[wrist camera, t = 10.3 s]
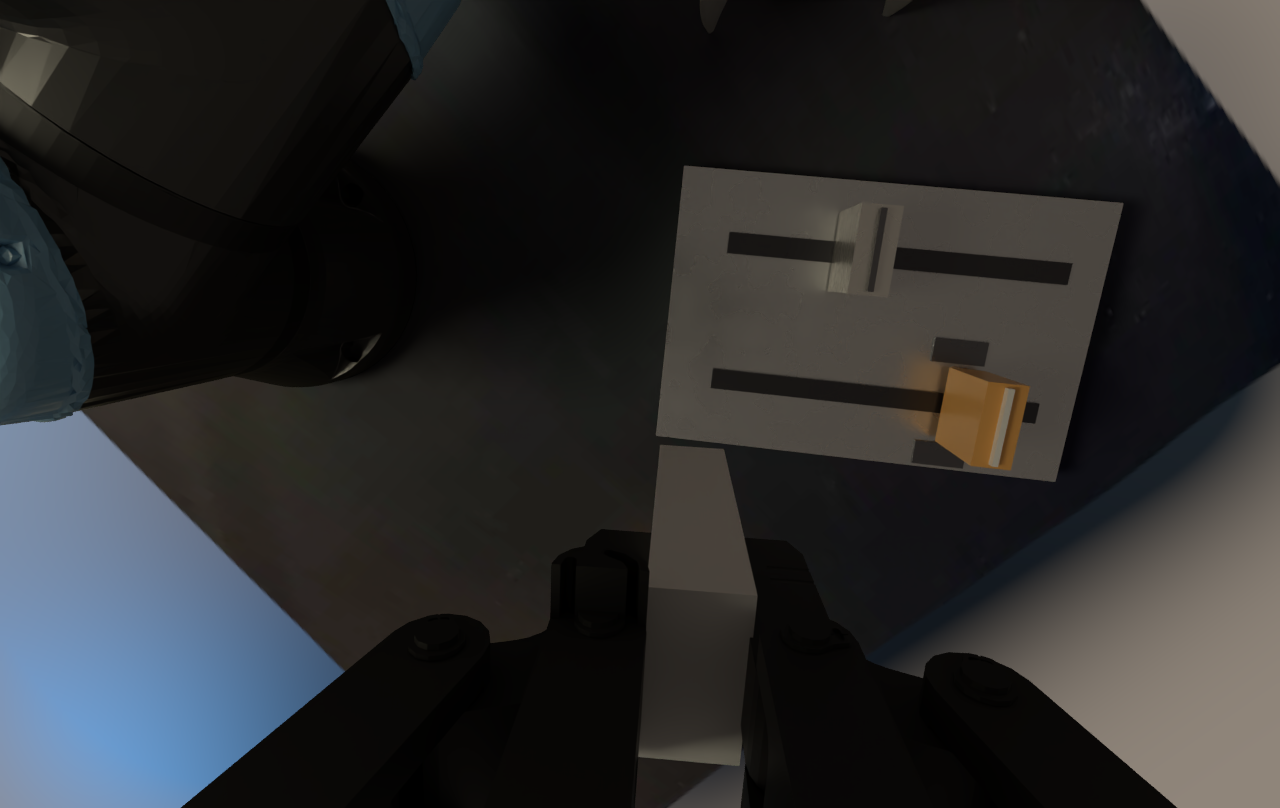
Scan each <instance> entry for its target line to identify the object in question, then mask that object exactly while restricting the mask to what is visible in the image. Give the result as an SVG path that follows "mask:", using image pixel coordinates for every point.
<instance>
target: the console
mask: <svg viewBox="0 0 1280 808" xmlns="http://www.w3.org/2000/svg"><path fill="white" fill-rule="evenodd" d="M1123 204H1124V203H1117V202H1105V201H1093V200H1082V199H1070V198H1058V197H1046V196H1035V195H1023V194H1011V193H1000V192H988V191H976V190H964V189H953V188H941V187H929V186H918V185H906V184H894V183H882V182H871V181H859V180H847V179H835V178H824V177H812V176H800V175H789V174H777V173H765V172H753V171H742V170H730V169H718V168H707V167H695V166H684V171H683V181H682V190H681V200H680V210H679V219H678V229H677V239H676V248H675V258H674V268H673V277H672V287H671V296H670V306H669V316H668V325H667V335H666V345H665V354H664V364H663V373H662V383H661V393H660V402H659V412H658V422H657V431H656V436H663V437H672V438H680V439H689V440H698V441H706V442H715V443H724V444H732V445H741V446H750V447H758V448H767V449H776V450H784V451H793V452H802V453H810V454H819V455H828V456H836V457H845V458H853V459H862V460H871V461H879V462H888V463H897V464H905V465H914V466H923V467H931V468H940V469H949V470H957V471H966V472H975V473H983V474H992V475H1000V476H1009V477H1018V478H1026V479H1035V480H1044V481H1052V482H1055V481H1056V477H1057V473H1058V469H1059V465H1060V461H1061V456H1062V452H1063V448H1064V444H1065V440H1066V436H1067V432H1068V428H1069V424H1070V420H1071V416H1072V412H1073V408H1074V403H1075V399H1076V395H1077V391H1078V387H1079V383H1080V379H1081V375H1082V371H1083V367H1084V363H1085V359H1086V355H1087V351H1088V346H1089V342H1090V338H1091V334H1092V330H1093V326H1094V322H1095V318H1096V314H1097V310H1098V306H1099V302H1100V298H1101V294H1102V289H1103V285H1104V281H1105V277H1106V273H1107V269H1108V265H1109V261H1110V257H1111V253H1112V249H1113V245H1114V241H1115V236H1116V232H1117V228H1118V224H1119V220H1120V216H1121V212H1122V208H1123ZM949 367H951V368H961V369H970V370H980V371H987V372H990V373H993V374H995V375H998V376H1001V377H1004V378H1007V379H1010V380H1013V381H1016V382H1019V383H1022V384H1025V385H1028V386H1030V389H1029V393H1028V397H1027V402H1026V406H1025V410H1024V415H1023V419H1022V424H1021V428H1020V432H1019V437H1018V441H1017V445H1016V450H1015V454H1014V458H1013V463H1012V467H1011V471H1010V470H1002V469H993V468H984V467H975V466H970V465H968V464H967V463H966V462H964V461H963V460H961V459H960V458H958V457H957V456H956V455H954V454H953V453H951V452H950V451H949V450H947V449H946V448H944V447H943V446H941V445H940V444H939V443H937V442H936V441H935V437H936V432H937V427H938V422H939V417H940V412H941V407H942V402H943V397H944V392H945V387H946V382H947V377H948V372H949Z"/></svg>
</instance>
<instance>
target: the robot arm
mask: <svg viewBox="0 0 1280 808" xmlns="http://www.w3.org/2000/svg"><path fill="white" fill-rule="evenodd" d="M460 3H461V0H0V425H6V424H14V423H21V422H29V421H37V422H50V421H56V420H60V419H63V418H66V416H72V415H73V412H76V411H80V410H84V409H89V408H93V407H98V406H102V405H107V404H111V403H116V402H120V401H125V400H129V399H134V398H138V397H143V396H147V395H152V394H156V393H161V392H165V391H170V390H174V389H178V388H183V387H187V386H192V385H196V384H201V383H205V382H210V381H214V380H219V379H223V378H227V377H231V376H235V377H240V378H245V379H250V380H254V381H259V382H264V383H269V384H273V385H278V386H285V387H312V386H319V385H324V384H328V383H332V382H336V381H339V380H342V379H346V378H349V377H352V376H354V375H357V374H359V373H361V372H363V371H365V370H367V369H368V368H370V367H371V366H373V365H374V364H376V363H377V362H378V361H379V360H381V359H382V358H383V357H384V356H385V355H386V354H387V353H388V352H389V351H390V350H391V348H392V347H393V346H394V345H395V343H396V342H397V340H398V339H399V337H400V336H401V334H402V332H403V330H404V328H405V326H406V324H407V322H408V319H409V317H410V314H411V310H412V307H413V303H414V298H415V290H416V264H415V256H414V251H413V246H412V242H411V239H410V236H409V233H408V230H407V228H406V225H405V223H404V221H403V218H402V216H401V215H400V213H399V211H398V209H397V207H396V206H395V204H394V203H393V201H392V200H391V198H390V197H389V196H388V194H387V193H386V192H385V191H384V189H383V188H382V187H381V186H380V185H379V184H378V183H377V182H376V181H375V180H374V179H373V178H372V177H371V176H370V175H369V174H368V173H366V172H365V171H364V170H363V169H361V168H360V167H358V166H357V165H355V164H354V163H352V162H351V161H349V159H350V157H351V156H352V155H353V153H354V152H355V151H356V150H357V148H358V147H359V146H360V144H361V143H362V142H363V140H364V139H365V138H366V136H367V135H368V134H369V133H370V131H371V130H372V129H373V127H374V126H375V125H376V123H377V122H378V121H379V119H380V118H381V117H382V116H383V114H384V113H385V112H386V110H387V109H388V108H389V106H390V105H391V104H392V102H393V101H394V100H395V99H396V97H397V96H398V95H399V93H400V92H401V91H402V89H403V88H404V87H405V85H406V84H407V83H408V82H409V80H410V79H413V80H416V79H417V77H418V76H419V75H420V74H421V72H422V69H423V59H424V57H425V56H426V54H427V53H428V51H429V50H430V48H431V47H432V45H433V44H434V42H435V41H436V39H437V38H438V37H439V35H440V34H441V32H442V31H443V29H444V28H445V26H446V25H447V23H448V22H449V20H450V19H451V17H452V16H453V14H454V13H455V11H456V10H457V8H458V7H459V5H460ZM808 570H809V569H808V567H807V564H806V562H805V559H804V557H803V555H802V554H801V553H800V552H799V551H798V550H797V549H795V548H794V547H793V546H792V545H790V544H789V543H788V542H787V541H780V540H767V539H753V538H744V535H743V530H742V526H741V522H740V517H739V513H738V509H737V504H736V500H735V496H734V491H733V487H732V483H731V478H730V474H729V470H728V465H727V461H726V457H725V452H724V449H713V448H698V447H684V446H669V445H660V453H659V463H658V473H657V483H656V493H655V503H654V513H653V524H652V533H645V532H632V531H619V530H605V529H601V530H600V531H598V532H597V533H596V534H594V535H593V536H592V537H590V538H589V539H588V540H587V541H586V544H585V546H584V547H579V548H574V549H571V550H569V551H566V552H564V553H562V554H560V555H559V556H558V557H557V558H556V559H555V560H554V561H553V563H552V566H551V613H550V621H549V624H548V627H547V630H545V631H543V632H542V633H539V634H537V635H534V636H531V637H528V638H524V639H519V640H513V641H506V642H497V643H490V636H489V630H488V629H487V628H486V627H485V626H484V625H483V624H482V623H481V622H480V621H478V620H475V619H473V618H470V617H468V616H463V615H454V614H440V615H438V614H436V615H430V616H427V617H424V618H420V619H417V620H414V621H411V622H409V623H407V624H405V625H404V626H402V627H400V628H399V629H397V630H395V631H394V632H392V633H391V634H390V635H389V636H388V637H386V638H385V639H384V640H383V641H382V642H380V643H379V644H378V645H377V646H376V647H374V648H373V649H372V650H371V651H370V652H368V653H367V654H366V655H365V656H363V657H362V658H361V659H360V660H359V661H357V662H356V663H355V664H354V665H353V666H351V667H350V668H349V669H348V670H347V671H345V672H344V673H343V674H342V675H341V676H339V677H338V678H337V679H336V680H334V681H333V682H332V683H331V684H330V685H328V686H327V687H326V688H325V689H324V690H322V691H321V692H320V693H319V694H318V695H316V696H315V697H314V698H313V699H312V700H310V701H309V702H308V703H307V704H305V705H304V706H303V707H302V708H301V709H299V710H298V711H297V712H296V713H295V714H294V715H292V716H291V717H290V718H289V719H287V720H286V721H285V722H284V723H283V724H282V725H280V726H279V727H278V728H277V729H275V730H274V731H273V732H272V733H270V734H269V735H268V736H267V737H266V738H264V739H263V740H262V741H261V742H260V743H258V744H257V745H256V746H255V747H254V748H252V749H251V750H250V751H249V752H248V753H246V754H245V755H244V756H243V757H241V758H240V759H239V760H238V761H237V762H235V763H234V764H233V765H232V766H231V767H229V768H228V769H227V770H226V771H225V772H223V773H222V774H221V775H220V776H219V777H217V778H216V779H215V780H214V781H213V782H211V783H210V784H209V785H208V786H207V787H205V788H204V789H203V790H202V791H200V792H199V793H198V794H197V795H196V796H194V797H193V798H192V799H191V800H190V801H188V802H187V803H186V804H185V805H184V806H182V807H181V808H635V798H636V785H637V769H638V757H647V758H658V759H669V760H680V761H691V762H702V763H713V764H723V765H734V766H735V765H736V766H739V765H740V756H741V747H742V740H743V748H744V755H745V763H746V764H745V773H744V782H743V792H742V801H741V808H1177V807H1176V806H1175V805H1173V804H1172V803H1171V802H1170V801H1169V800H1168V799H1166V798H1165V797H1164V796H1163V795H1162V794H1161V793H1160V792H1158V791H1157V790H1156V789H1155V788H1154V787H1153V786H1151V785H1150V784H1149V783H1148V782H1147V781H1146V780H1144V779H1143V778H1142V777H1141V776H1140V775H1139V774H1137V773H1136V772H1135V771H1134V770H1133V769H1132V768H1130V767H1129V766H1128V765H1127V764H1126V763H1125V762H1123V761H1122V760H1121V759H1120V758H1119V757H1118V756H1116V755H1115V754H1114V753H1113V752H1112V751H1110V750H1109V749H1108V748H1107V747H1106V746H1105V745H1104V744H1102V743H1101V742H1100V741H1099V740H1098V739H1097V738H1095V737H1094V736H1093V735H1092V734H1091V733H1090V732H1088V731H1087V730H1086V729H1085V728H1084V727H1083V726H1081V725H1080V724H1079V723H1078V722H1077V721H1076V720H1074V719H1073V718H1072V717H1071V716H1070V715H1069V714H1068V713H1066V712H1065V711H1064V710H1063V709H1062V708H1061V707H1059V706H1058V705H1057V704H1056V703H1055V702H1053V701H1052V700H1051V699H1050V698H1049V697H1048V696H1047V695H1045V694H1044V693H1043V692H1042V691H1041V690H1039V689H1038V688H1037V687H1036V686H1035V685H1034V684H1033V683H1031V682H1030V681H1029V680H1027V679H1026V678H1024V677H1023V676H1021V675H1020V674H1018V673H1017V672H1015V671H1014V670H1013V669H1011V668H1009V667H1006V666H1004V665H1002V664H1000V663H998V662H995V661H994V660H992V659H990V658H986V657H983V656H981V657H980V656H978V655H974V654H969V653H951V652H948V653H944V654H940V655H935V656H933V657H932V658H931V659H930V660H929V661H928V662H927V663H926V666H925V671H924V677H923V678H920V677H916V676H913V675H909V674H906V673H902V672H899V671H895V670H891V669H888V668H885V667H882V666H880V665H877V664H874V663H872V662H870V661H868V660H866V658H865V656H864V654H863V652H862V649H861V647H860V645H859V643H858V642H857V640H856V639H855V638H854V636H853V635H852V634H851V633H850V631H848V630H847V629H845V628H844V627H842V626H841V625H839V624H838V623H836V622H834V621H832V620H829V617H828V615H827V613H826V610H825V608H824V605H823V603H822V601H821V598H820V596H819V593H818V591H817V588H816V586H815V585H814V581H813V579H812V576H811V574H810V572H809V571H808Z"/></svg>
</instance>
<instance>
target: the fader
mask: <svg viewBox="0 0 1280 808" xmlns="http://www.w3.org/2000/svg"><path fill="white" fill-rule="evenodd" d="M1029 389H1030V386H1028V385H1025V384H1022V383H1019V382H1016V381H1013V380H1010V379H1007V378H1004V377H1001V376H998V375H995V374H993V373H990V372H987V371H980V370H970V369H961V368H951V367H949V372H948V377H947V382H946V387H945V392H944V397H943V402H942V407H941V412H940V417H939V422H938V427H937V432H936V437H935V441H936V442H937V443H939V444H940V445H941V446H943V447H944V448H946V449H947V450H949V451H950V452H951V453H953V454H954V455H956V456H957V457H958V458H960V459H961V460H963V461H964V462H966V463H967V464H968V465H970V466H975V467H984V468H993V469H1002V470H1010V471H1011V467H1012V463H1013V458H1014V454H1015V450H1016V445H1017V441H1018V437H1019V432H1020V428H1021V424H1022V419H1023V415H1024V410H1025V406H1026V402H1027V397H1028V393H1029Z"/></svg>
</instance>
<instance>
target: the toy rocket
mask: <svg viewBox="0 0 1280 808" xmlns="http://www.w3.org/2000/svg"><path fill="white" fill-rule="evenodd" d="M911 1H912V0H886V2H885V6H884V10H883V13H882V15H883V16H886V17H889V16H891V15H892V14H894V13H896V12H897V11H899V10H900V9H902V8H903V7H905V6H906V5H907V4H909V3H910V2H911ZM726 2H727V0H700V16H701V20H702V24H703V26H704V27H705V29H706V30H707V32H708V33H711V32H713V31H714V29H715V26H716V24H717V22H718V19H719V17H720V14H721V12H722V10H723V8H724V6H725V4H726Z"/></svg>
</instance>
